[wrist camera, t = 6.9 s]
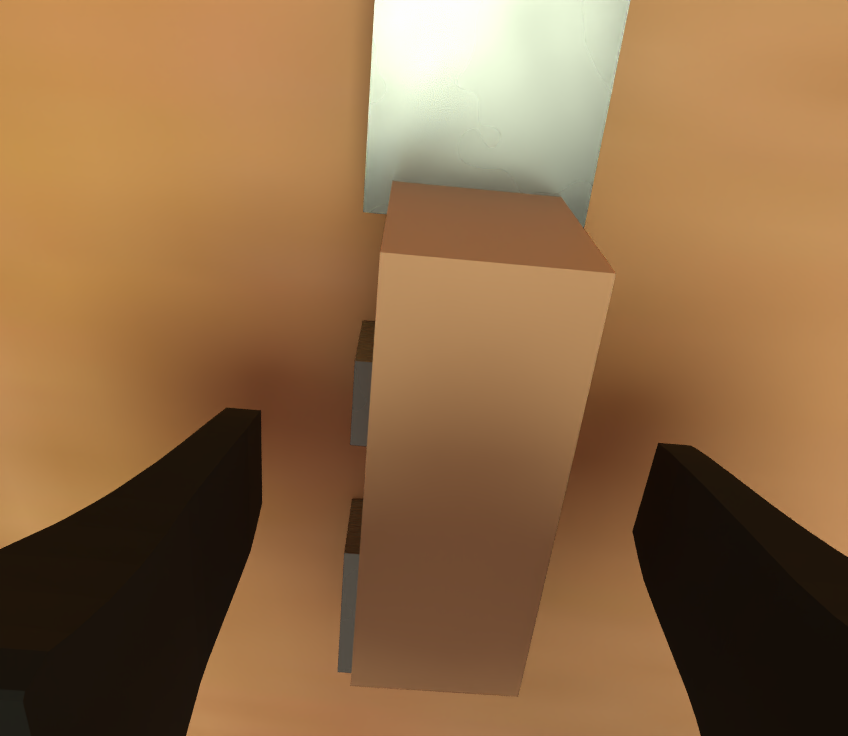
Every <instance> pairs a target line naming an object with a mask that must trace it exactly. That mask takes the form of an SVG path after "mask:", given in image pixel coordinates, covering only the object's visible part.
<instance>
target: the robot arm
mask: <svg viewBox="0 0 848 736" xmlns="http://www.w3.org/2000/svg"><path fill="white" fill-rule="evenodd" d="M261 505H262V458H261V410H249V409H236V408H226V409H224V410H223V411H222V412H220V413H219V414H218V415H216V416H215V417H214V418H213V419H211V420H210V421H209V422H207V423H206V424H205V425H204V426H202V427H201V428H200V429H199V430H197V431H196V432H195V433H194V434H192V435H191V436H190V437H189V438H187V439H186V440H185V441H184V442H182V443H181V444H180V445H178V446H177V447H176V448H174V449H173V450H172V451H170V452H169V453H168V454H167V455H165V456H164V457H163V458H161V459H160V460H159V461H157V462H156V463H154V464H153V465H151V466H150V467H149V468H147V469H146V470H144V471H143V472H141V473H140V474H138V475H137V476H135V477H134V478H132V479H131V480H129V481H128V482H126V483H125V484H123V485H122V486H121V487H119V488H118V489H116V490H114V491H113V492H111V493H110V494H108V495H106V496H105V497H103V498H101V499H100V500H98V501H96V502H95V503H93V504H91V505H89V506H87V507H86V508H84V509H82V510H80V511H78V512H76V513H75V514H73V515H71V516H69V517H67V518H65V519H64V520H62V521H60V522H58V523H56V524H54V525H52V526H49V527H47V528H45V529H43V530H41V531H39V532H36V533H34V534H32V535H30V536H28V537H25V538H23V539H21V540H19V541H17V542H15V543H12V544H10V545H8V546H6V547H4V548H2V549H0V736H186V733H187V730H188V726H189V723H190V719H191V715H192V712H193V708H194V704H195V701H196V697H197V694H198V690H199V686H200V683H201V680H202V677H203V674H204V671H205V668H206V665H207V662H208V659H209V657H210V654H211V652H212V649H213V646H214V644H215V641H216V639H217V636H218V634H219V631H220V629H221V626H222V623H223V621H224V618H225V616H226V613H227V611H228V608H229V606H230V603H231V600H232V598H233V595H234V593H235V590H236V588H237V585H238V582H239V580H240V577H241V575H242V572H243V569H244V567H245V564H246V562H247V559H248V556H249V554H250V551H251V547H252V543H253V539H254V535H255V531H256V527H257V523H258V518H259V514H260V510H261ZM633 536H634V541H635V545H636V550H637V555H638V559H639V563H640V567H641V571H642V575H643V579H644V582H645V585H646V588H647V591H648V593H649V596H650V598H651V601H652V604H653V606H654V609H655V612H656V614H657V617H658V619H659V622H660V624H661V627H662V629H663V632H664V635H665V637H666V640H667V642H668V645H669V647H670V650H671V652H672V655H673V657H674V660H675V662H676V665H677V668H678V670H679V673H680V675H681V678H682V680H683V683H684V685H685V688H686V690H687V693H688V696H689V699H690V702H691V705H692V708H693V711H694V714H695V717H696V720H697V724H698V727H699V731H700V735H701V736H848V557H847V556H845V555H843V554H842V553H840V552H839V551H837V550H836V549H834V548H833V547H831V546H830V545H828V544H827V543H825V542H824V541H822V540H821V539H819V538H818V537H816V536H815V535H813V534H812V533H810V532H809V531H807V530H806V529H805V528H803V527H802V526H800V525H799V524H797V523H796V522H795V521H793V520H792V519H791V518H789V517H788V516H786V515H785V514H784V513H782V512H781V511H780V510H778V509H777V508H775V507H774V506H773V505H771V504H770V503H769V502H767V501H766V500H765V499H763V498H762V497H761V496H759V495H758V494H757V493H755V492H754V491H753V490H752V489H750V488H749V487H748V486H746V485H745V484H744V483H742V482H741V481H740V480H738V479H737V478H736V477H735V476H733V475H732V474H731V473H729V472H728V471H727V470H725V469H724V468H723V467H721V466H720V465H719V464H717V463H716V462H715V461H713V460H712V459H711V458H709V457H708V456H706V455H705V454H703V453H702V452H700V451H699V450H697V449H696V448H694V447H693V446H689V445H676V444H664V443H658V446H657V449H656V453H655V456H654V459H653V463H652V466H651V470H650V473H649V477H648V480H647V483H646V487H645V490H644V494H643V497H642V501H641V504H640V507H639V511H638V514H637V518H636V521H635V525H634V528H633Z"/></svg>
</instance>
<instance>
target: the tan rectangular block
mask: <svg viewBox="0 0 848 736" xmlns="http://www.w3.org/2000/svg"><path fill="white" fill-rule="evenodd" d="M615 276H616V273H615V271H614V270H613V269H612V267H611V266H610V264H609V263H608V262H607V260H606V259H605V257H604V256H603V255H602V253H601V252H600V250H599V249H598V248H597V246H596V245H595V243H594V242H593V241H592V239H591V238H590V237H589V235H588V234H587V232H586V231H585V230H584V228H583V227H582V225H581V224H580V223H579V221H578V220H577V218H576V217H575V216H574V214H573V213H572V211H571V210H570V209H569V207H568V206H567V204H566V203H565V202H564V200H563V199H562V197H556V196H545V195H535V194H524V193H514V192H503V191H493V190H482V189H472V188H461V187H450V186H440V185H429V184H419V183H408V182H398V181H392V187H391V192H390V198H389V204H388V210H387V215H386V221H385V227H384V233H383V238H382V244H381V250H380V261H379V275H378V290H377V305H376V319H375V334H374V349H373V363H372V378H371V393H370V407H369V422H368V437H367V451H366V466H365V481H364V495H363V510H362V525H361V539H360V554H359V569H358V583H357V598H356V613H355V627H354V642H353V657H352V671H351V686H359V687H375V688H390V689H406V690H422V691H438V692H454V693H470V694H485V695H501V696H517V697H518V695H519V691H520V687H521V682H522V678H523V674H524V669H525V665H526V661H527V656H528V652H529V648H530V644H531V639H532V635H533V631H534V626H535V622H536V618H537V613H538V609H539V605H540V600H541V596H542V592H543V587H544V583H545V579H546V574H547V570H548V566H549V561H550V557H551V553H552V549H553V544H554V540H555V536H556V531H557V527H558V523H559V518H560V514H561V510H562V505H563V501H564V497H565V492H566V488H567V484H568V479H569V475H570V471H571V466H572V462H573V458H574V453H575V449H576V445H577V441H578V436H579V432H580V428H581V423H582V419H583V415H584V410H585V406H586V402H587V397H588V393H589V389H590V384H591V380H592V376H593V371H594V367H595V363H596V358H597V354H598V350H599V346H600V341H601V337H602V333H603V328H604V324H605V320H606V315H607V311H608V307H609V302H610V298H611V294H612V289H613V285H614V281H615Z"/></svg>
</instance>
